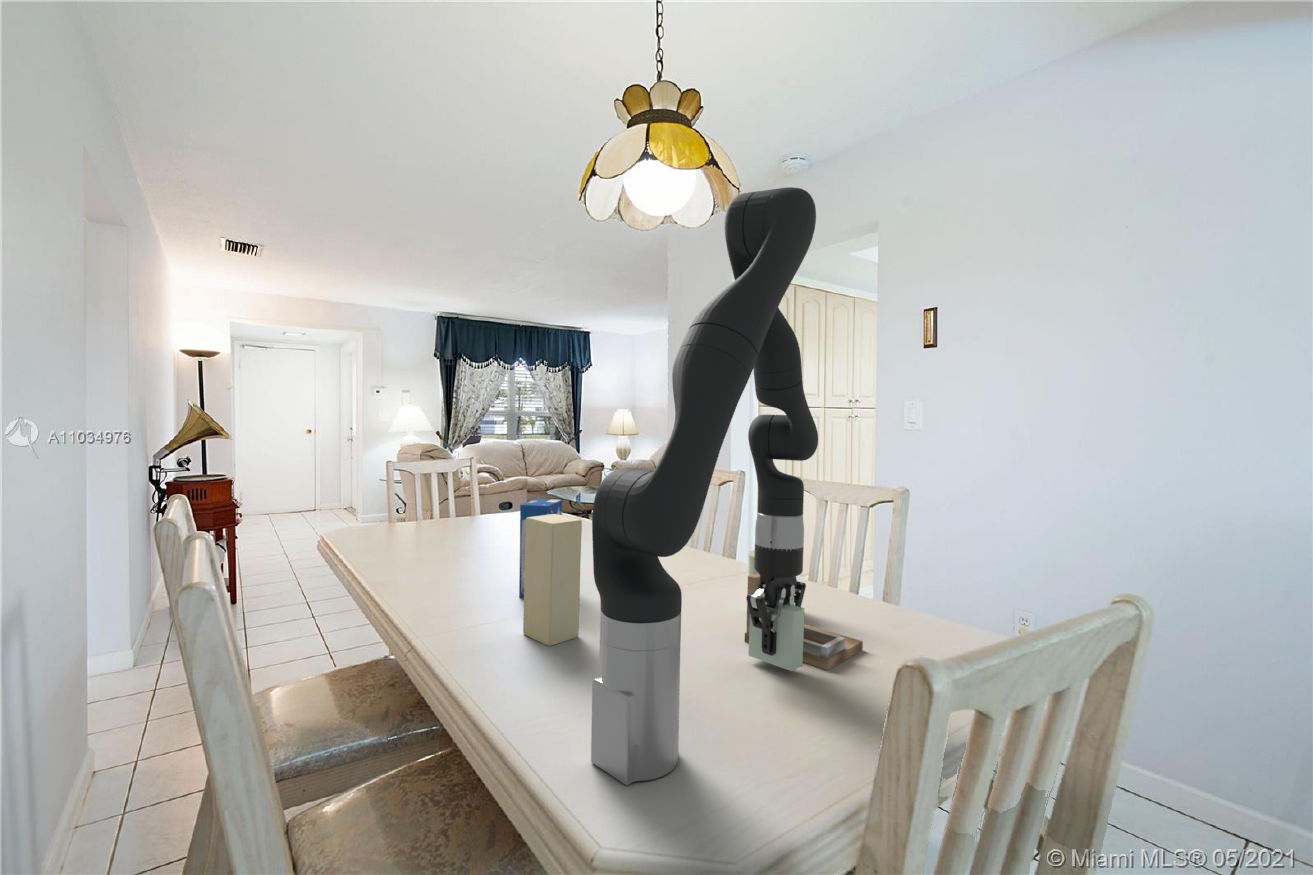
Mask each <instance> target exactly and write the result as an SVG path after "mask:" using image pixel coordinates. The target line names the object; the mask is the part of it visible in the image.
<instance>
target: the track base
mask: <svg viewBox="0 0 1313 875" xmlns="http://www.w3.org/2000/svg"><path fill="white" fill-rule="evenodd" d="M759 580H760V574H759V573H757V574H754V575H751V576H747V595H748V594H749V593H750V594H755V593H756V592H757V590H758V584H759ZM747 595H746V596H747ZM749 627H750V611H749V607H748V603H747V602H746V632H745V633H744V642H745V643H748V644H749ZM863 648H864V641H863V640H859V639H856V638H854V637H853V638H852V637H850V636H846V635H842V634H840V633H836V632H834V631H829V630H826V629H822V628H819V627H815V626H812V625H809V624H805V623H804V636H803V663H805V664H808V665H811V666H815V667H817V668H820V669H823V670H825V671H828V670H831V669H832V668H834V667H835V666H837V664H838V665H839V664H841V663H843V662H844V661H846V660H848V659H850V658H851V657H853V656H855V655H856V654H858V653H860V652H861V651H860V650H862V651H863V650H864V649H863ZM859 651H860V652H859ZM857 652H858V653H857ZM852 655H853V656H852ZM849 657H850V658H849ZM845 659H846V660H845ZM842 661H843V662H842Z"/></svg>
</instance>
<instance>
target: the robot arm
mask: <svg viewBox="0 0 1313 875" xmlns="http://www.w3.org/2000/svg"><path fill="white" fill-rule="evenodd" d="M816 223H817V210H816V204H815V201H814V199H813V197H812V195H811V194H810V193H809V192H808V191H807V190H805V189H803V188H801V187H793V186H791V187H789V186H787V187H780V188H779V187H778V188H772V189H771V188H770V189H765V190H757V191H750V192H749V191H748V192H743V193H740V194H738V195H736V196H735V197H733V198H732V199H731V200H730V202H729V204H728V206H727V207H726V212H725V215H724V236H725V238H724V239H725V243H726V249H727V250H726V251H727V255H728V258H729V259H728V260H729V262H730V266H731V271H732V275H733V279H734V281H732V282H731V284H729V285H728V286H727V287H726V288H725V289H723V290H722V291H721V292H720V293H718V294H717V295H716V296H715V297H714V298H712V299H711V300H710V301H709V302H708V303H707V304H706V305H705V306H704V307H703V308H701V310H700V311H699V312H698V313H697V315H696V316H695V317H694V319H693V320H692V322H691V323H690V326H689V327H688V330H687V331H686V334H685V336H684V338H683V341H682V343H681V345H680V346H679V349H678V351H677V353H676V357H675V360H674V363H673V366H672V374H671V375H672V376H671V379H672V380H671V382H672V394H673V399H674V400H673V402H674V414H675V417H674V424H673V428H672V432H671V435H670V437H669V439H668V443H667V444H666V447H665V449H664V451H663V453H662V454H661V458H660V460H659V461H658V463H657V465H656V466H655V468H654V469H647V468H639V467H622V468H617V469H615V470H613V471H611V472H609V473H608V474H607V475H606V476H605V477H604V478H603V480H602V481H601V482H600V484H599V485H598V488H597V490H596V493H595V496H594V499H593V500H594V501H593V506H592V513H591V514H592V516H591V517H592V518H591V527H592V528H591V529H592V530H591V532H592V533H591V534H592V536H591V537H592V561H593V562H592V563H593V564H592V565H593V566H592V567H593V577H594V578H593V579H594V584H595V587H596V589H597V592H598V595H599V599H600V612H599V613H600V616H599V617H600V618H599V619H600V620H599V621H600V622H599V623H600V624H599V628H600V629H599V630H600V631H599V670H598V671H599V675H598V677H596V678H594V679H592V682H591V684H592V685H591V686H592V688H591V689H592V690H591V731H590V732H591V733H590V734H591V737H590V738H591V739H590V740H591V743H590V762H591V763H592V764H594V765H595V766H596V767H598V768H600V769H601V770H603V771H604V772H605V773H607V774H609V775H610V776H612V777H613V778H614V779H616V780H617V781H619V782H620V783H622V784H623V785H625V786H628V785H631V784H632V783H635V782H643V781H650V780H656V779H658V778H661V777H662V778H663V777H664V776H666V775H667V774H669V773H671V772H672V771H673V770H674V769H675V767H676V766H677V764H678V760H679V746H680V745H679V742H680V739H679V738H680V695H681V694H680V692H681V691H680V686H681V684H680V683H681V680H680V679H681V637H682V636H681V635H682V604H683V603H682V600H683V599H682V597H683V596H682V589H681V587H680V585H679V583H678V582H677V581H676V580H675V579H674V578H673V577H672V576H671V575H670V574H669V572H667V570H666V569H665V568H664V566H663V565H662V563H661V560H660V559H659V558H667V557H672V556H674V555H676V554H678V553H679V552H680V551H681V550H683V549H684V547H686V545H687V544H688V543H689V541H690V539H691V538H692V536H693V534H694V533H695V530H696V529H697V525H698V523H699V521H700V518H701V515H702V512H703V509H704V506H705V502H706V500H707V495H708V492H709V489H710V486H711V482H712V479H713V475H714V471H715V468H716V465H717V461H718V459H719V455H720V453H721V449H722V447H723V443H724V441H725V438H726V436H727V433H728V430H729V428H730V424H731V422H732V420H733V417H734V414H735V412H736V409H737V406H738V405H739V402H740V399H741V397H742V396H743V392H744V391H745V388H746V386H747V384H748V382H749V379H750V377H751V375H752V373H753V378H754V381H753V382H754V389H755V397H756V399H757V400H758V402H759V403H760V404H762V405H764V406H768V407H771V408H774V409H775V408H776V409H777V410H780V411H782V412H783V413H784V414H760V415H758V416H756V417H755V418H754V419H753V420H752V421H751V423H750V425H749V428H748V433H747V437H748V438H747V439H748V445H749V448H750V452H751V457H752V460H753V464H754V470H755V474H756V480H757V481H756V482H757V512H756V513H757V514H756V515H757V516H756V520H755V527H754V550H755V552H754V569H755V570H756V571H757V572H758V573H759V574H760V580H759V584H758V590H757V592H756V593H755V594H750V593H749V594H748V595H746V604H747V603H748V607H749V611H750V615H751V619H752V623H753V626H754V627H757V628H760V629H761V630H762V652H763V653H765V654H768V655H771V656H773V655H775V654H776V640H777V632H776V630H777V624H778V617H780V616H781V609H782V607H783V605H786V604H787V605H794V606H798V607H801V608H802V604H803V600H804V597H805V591H806V587H807V585H806V583H805V582H802V581H798V579H797V577H799V576H800V575H801V574H803V570H804V547H805V546H804V543H805V538H804V537H805V524H804V502H805V501H804V499H805V498H804V496H805V495H804V494H805V485H804V481H803V480H802V479H801V478H799V477H797V476H794V475H791V474H788V473H784V472H781V471H780V470H779V469H778V468H777V467H776V465H775V462H774V460H776V461H777V460H783V461H793V462H794V461H797V462H798V461H799V462H802V461H807V460H809V459H810V458H812V457H813V456H814V454H815V453H816V451H817V449H818V445H819V433H818V429H817V426H816V423H815V420H814V418H813V416H812V413H811V410H810V407H809V405H808V402H807V398H806V396H805V391H804V386H803V371H802V367H803V366H802V357H801V354H802V353H801V348H800V345H799V344H800V343H799V341H798V338H797V336H796V334H795V332H794V330H793V328H792V326H791V325H790V324H789V322H788V320H787V319H786V317H785V315H784V314H783V313H782V311H781V310H780V308H779V306H780V304H781V302H782V299H783V298H784V296H785V294H786V293H787V291H788V288H789V286H790V285H791V283H792V281H793V280H794V277H795V276H796V274H797V272H798V270H799V269H800V267H801V265H802V263H803V261H804V259H805V258H806V255H807V254H808V251H809V248H810V246H811V244H812V242H813V237H814V234H815V229H816ZM766 606H767V607H770V608H774V609H775V611H773V610H770V609H767V608H766ZM768 615H770V616H771V623H770V621H769V616H768ZM759 618H760V620H759Z"/></svg>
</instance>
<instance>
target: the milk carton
mask: <svg viewBox="0 0 1313 875" xmlns="http://www.w3.org/2000/svg"><path fill="white" fill-rule="evenodd" d="M519 511H520V513H519V514H520V515H519V519H520V520H519V528H520V529H519V580H518V581H519V583H518V584H519V588H518V590H519V595H518V596H519V599H524V574H525V534H526V518H527V517H534V516H542V515H550V514H558V515H562V516H563V499H555V498H554V499H553V498H552V499H551V498H534V499H532V500H528V501H526V502H523V503H522V504H520V507H519Z"/></svg>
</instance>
